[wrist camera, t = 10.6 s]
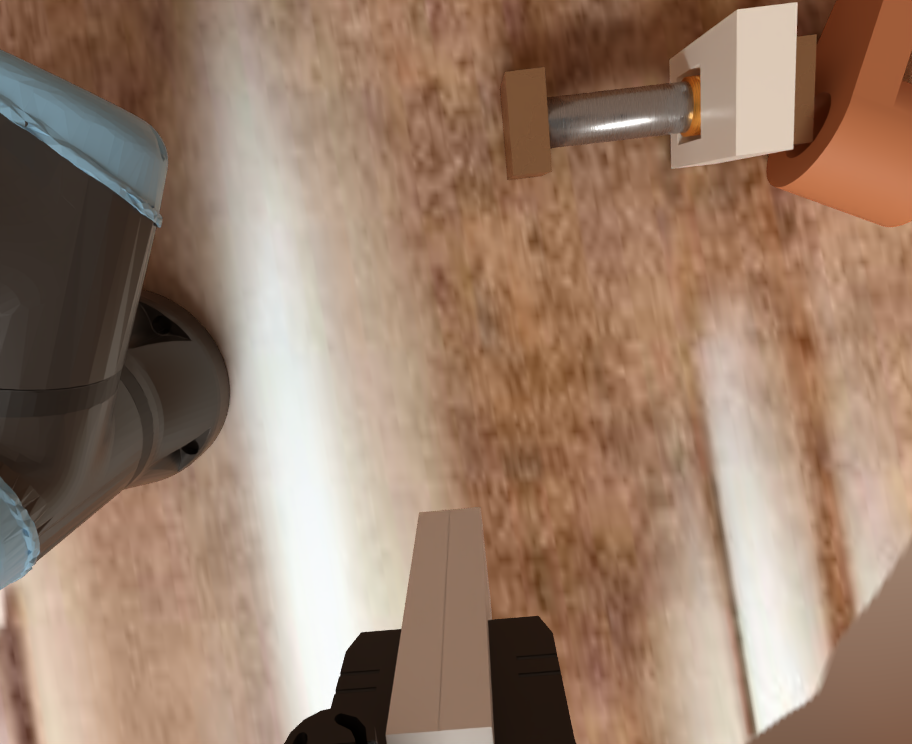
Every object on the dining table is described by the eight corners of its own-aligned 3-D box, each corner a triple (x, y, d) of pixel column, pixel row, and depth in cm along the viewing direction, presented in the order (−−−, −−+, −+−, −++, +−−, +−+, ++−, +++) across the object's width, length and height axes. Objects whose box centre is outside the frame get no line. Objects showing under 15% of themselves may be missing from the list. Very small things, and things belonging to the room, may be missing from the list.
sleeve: (671, 168, 43) (735, 155, 33) (669, 59, 41) (737, 9, 31) (714, 163, 43) (793, 149, 33) (714, 54, 41) (797, 2, 31)
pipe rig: (507, 179, 44) (513, 175, 38) (499, 89, 42) (505, 70, 37) (769, 150, 43) (815, 141, 37) (771, 56, 42) (819, 33, 36)
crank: (852, 225, 44) (933, 228, 37) (751, 189, 44) (812, 184, 36) (1000, -78, 40) (1129, -147, 32) (889, -123, 39) (993, -204, 31)
